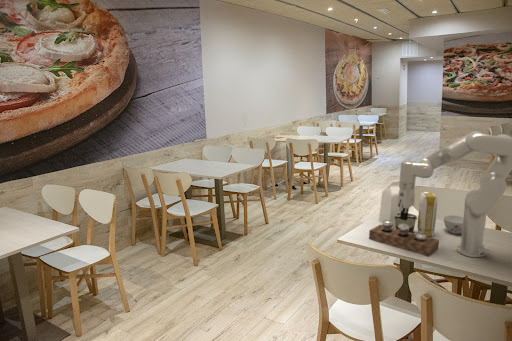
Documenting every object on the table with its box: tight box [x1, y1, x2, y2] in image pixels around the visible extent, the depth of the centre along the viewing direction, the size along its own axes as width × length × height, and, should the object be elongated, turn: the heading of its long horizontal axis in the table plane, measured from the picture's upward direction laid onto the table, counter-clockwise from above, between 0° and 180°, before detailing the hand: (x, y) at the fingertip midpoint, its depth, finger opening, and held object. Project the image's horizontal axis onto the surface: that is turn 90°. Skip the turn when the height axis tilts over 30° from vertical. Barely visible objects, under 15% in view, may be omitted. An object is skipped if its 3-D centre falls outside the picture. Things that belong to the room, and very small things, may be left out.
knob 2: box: [398, 224, 409, 237], centre depth 210 cm, size 5×5×6 cm
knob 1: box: [381, 220, 393, 233], centre depth 216 cm, size 5×5×6 cm
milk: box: [378, 179, 401, 228], centre depth 239 cm, size 12×12×26 cm
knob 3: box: [414, 231, 427, 242], centre depth 204 cm, size 5×5×6 cm
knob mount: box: [368, 224, 440, 257], centre depth 211 cm, size 32×12×5 cm, turn 46°
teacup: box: [443, 214, 464, 235], centre depth 225 cm, size 15×12×8 cm
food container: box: [394, 212, 418, 233], centre depth 228 cm, size 12×6×10 cm, turn 84°
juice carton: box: [417, 191, 438, 238], centre depth 222 cm, size 9×8×24 cm
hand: (403, 219), depth 208 cm, fingers closed
